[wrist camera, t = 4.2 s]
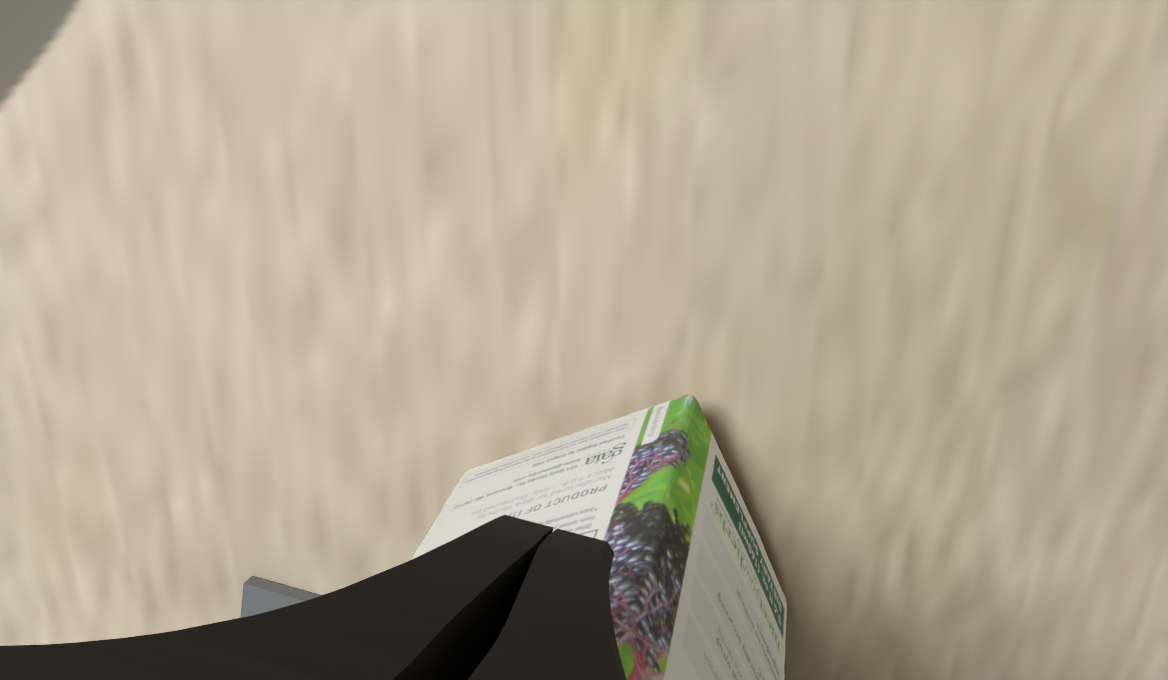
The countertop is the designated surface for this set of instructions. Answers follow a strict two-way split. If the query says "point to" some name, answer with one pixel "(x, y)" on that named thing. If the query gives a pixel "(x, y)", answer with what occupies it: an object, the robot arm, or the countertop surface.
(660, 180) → the countertop surface
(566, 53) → the countertop surface
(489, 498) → the syrup box
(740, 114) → the countertop surface
